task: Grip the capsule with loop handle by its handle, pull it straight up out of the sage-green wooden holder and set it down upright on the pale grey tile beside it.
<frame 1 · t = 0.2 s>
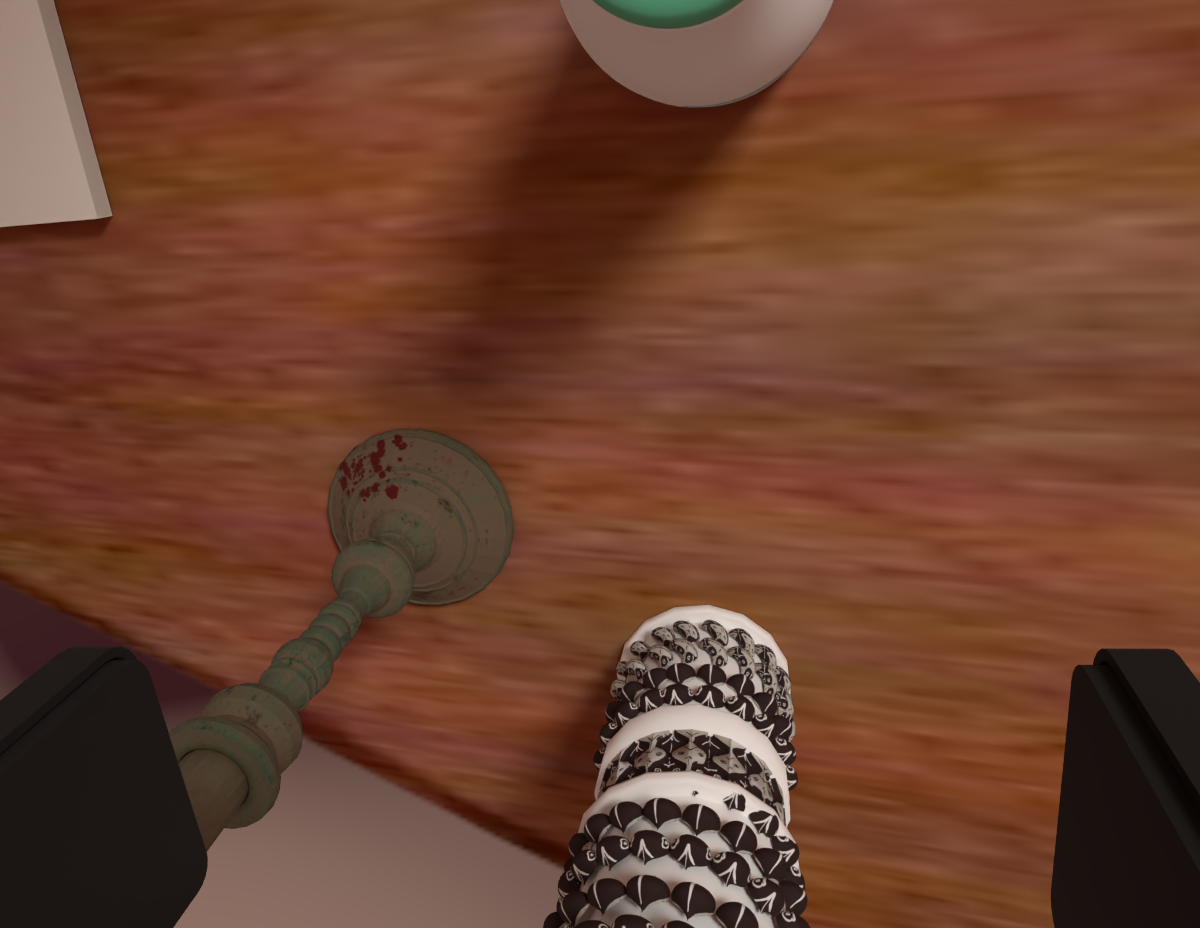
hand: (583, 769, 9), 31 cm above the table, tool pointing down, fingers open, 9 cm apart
candlestick holder: (423, 515, 45), on the table
decorative candle: (704, 677, 45), on the table
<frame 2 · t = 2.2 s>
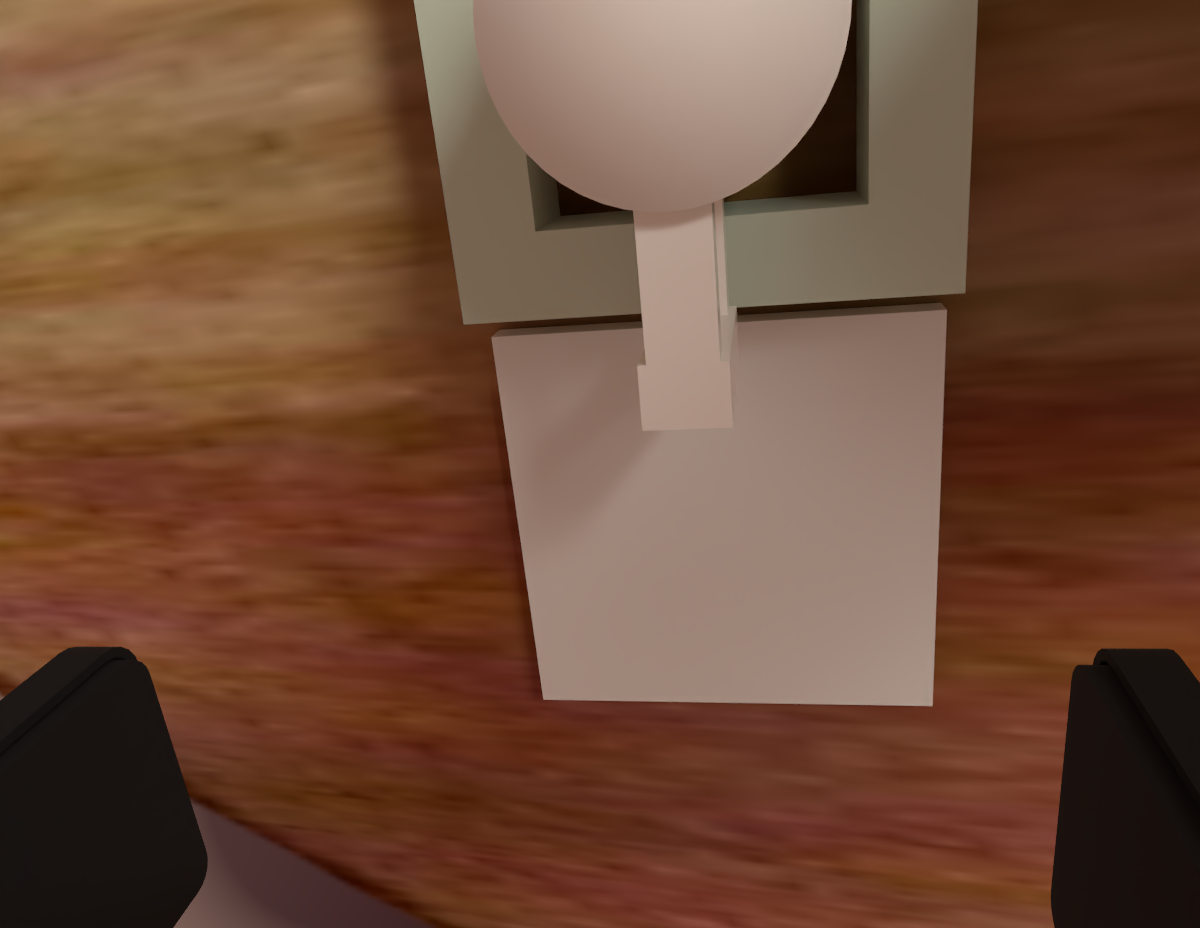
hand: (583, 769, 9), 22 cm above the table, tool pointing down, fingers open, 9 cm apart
tile: (721, 516, 32), on the table
holder: (694, 43, 27), on the table
capsule with loop handle: (684, 110, 22), in the holder
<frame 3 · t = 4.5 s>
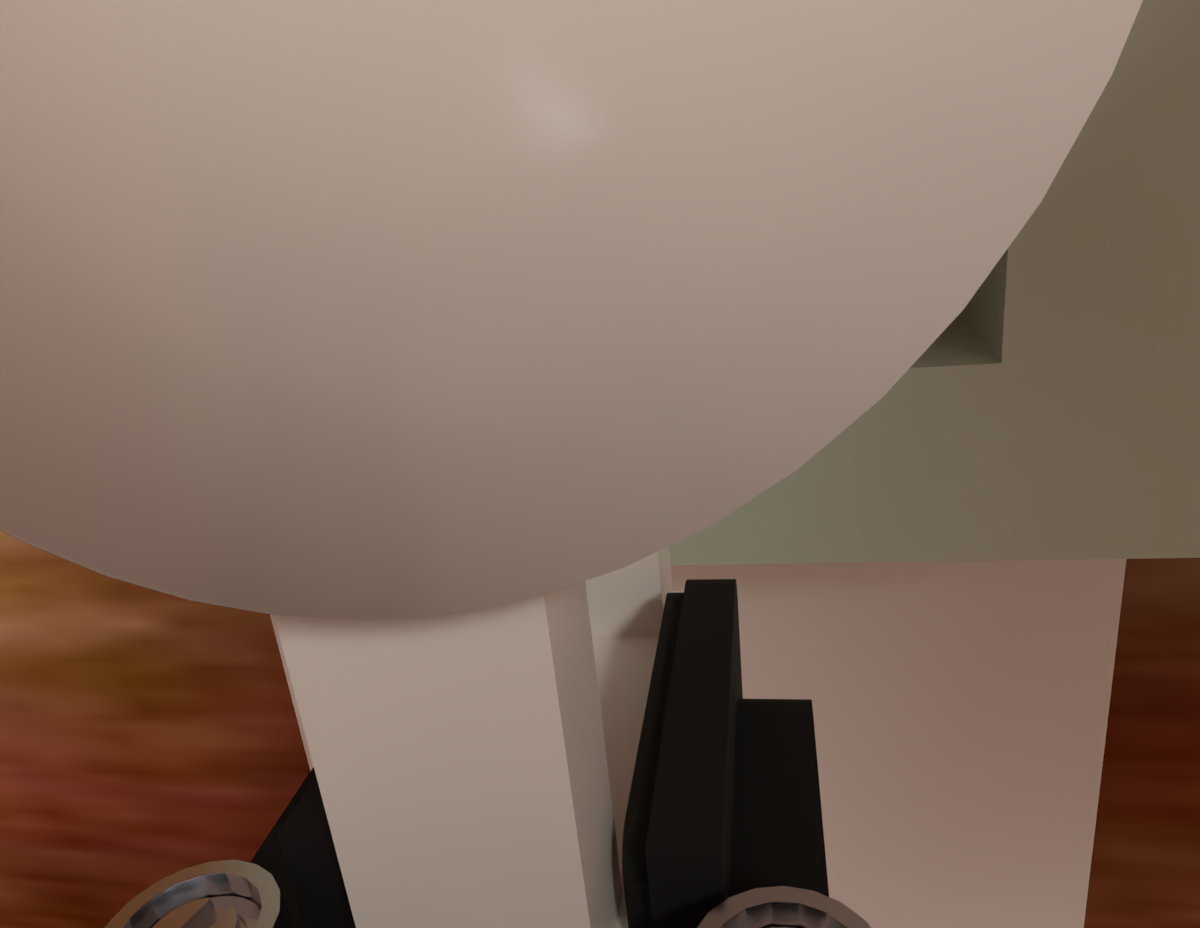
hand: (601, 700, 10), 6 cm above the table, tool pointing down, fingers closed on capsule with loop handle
tile: (686, 843, 18), on the table
holder: (616, 1, 13), on the table
capsule with loop handle: (543, 165, 9), in the holder, touching gripper
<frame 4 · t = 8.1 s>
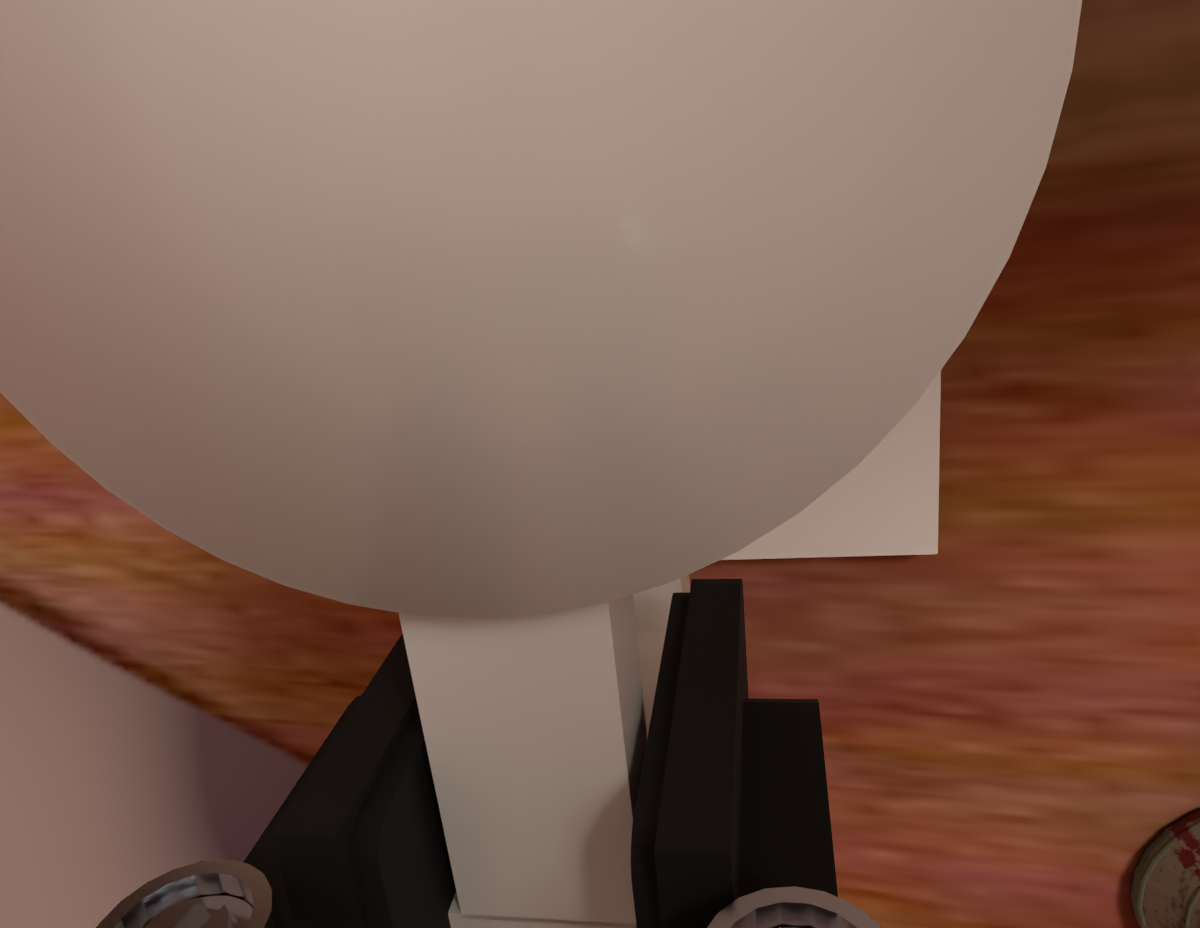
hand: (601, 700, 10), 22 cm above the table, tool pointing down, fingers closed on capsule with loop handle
tile: (714, 358, 31), on the table
capsule with loop handle: (584, 233, 10), point 20 cm above the table, touching gripper
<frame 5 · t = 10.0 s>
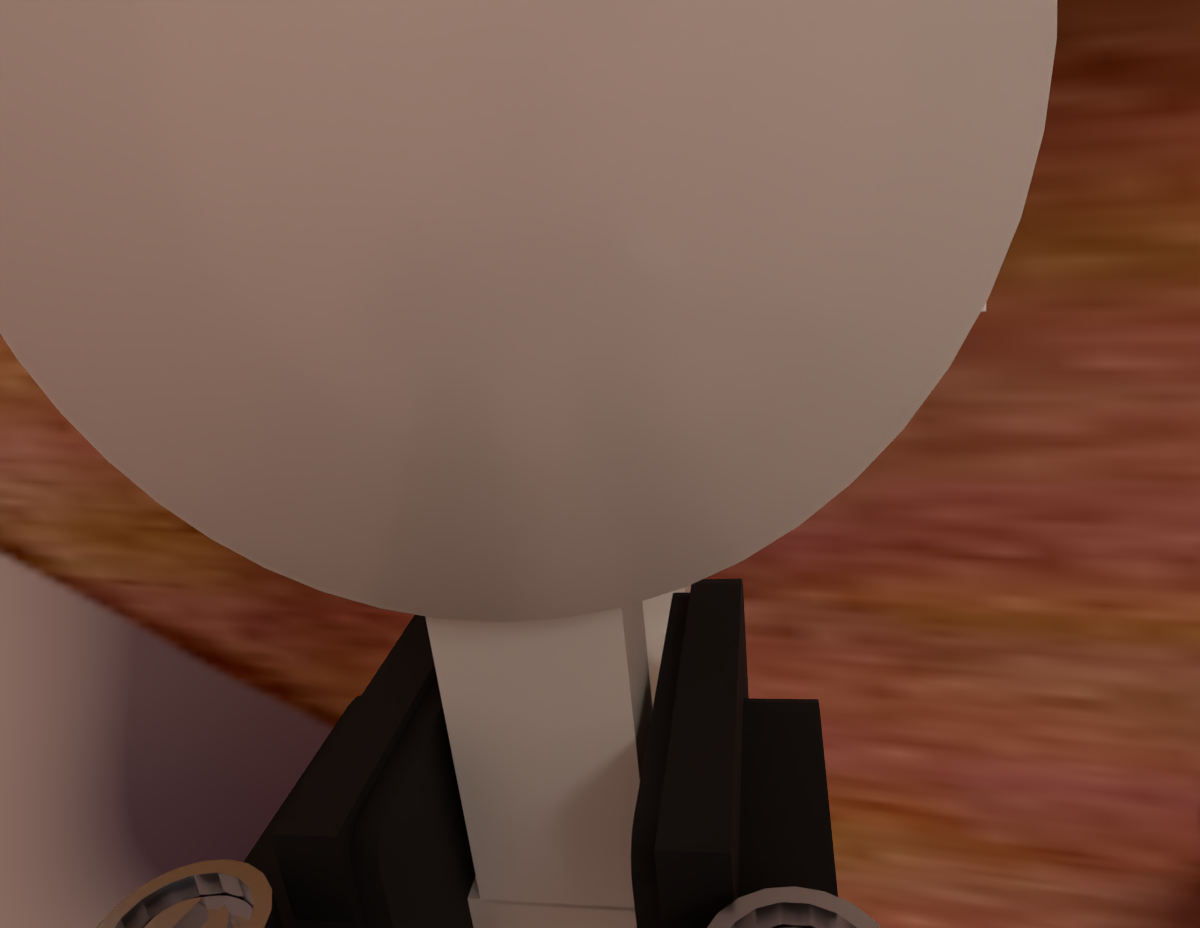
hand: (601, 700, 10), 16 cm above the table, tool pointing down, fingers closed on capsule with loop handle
capsule with loop handle: (593, 253, 11), point 14 cm above the table, touching gripper
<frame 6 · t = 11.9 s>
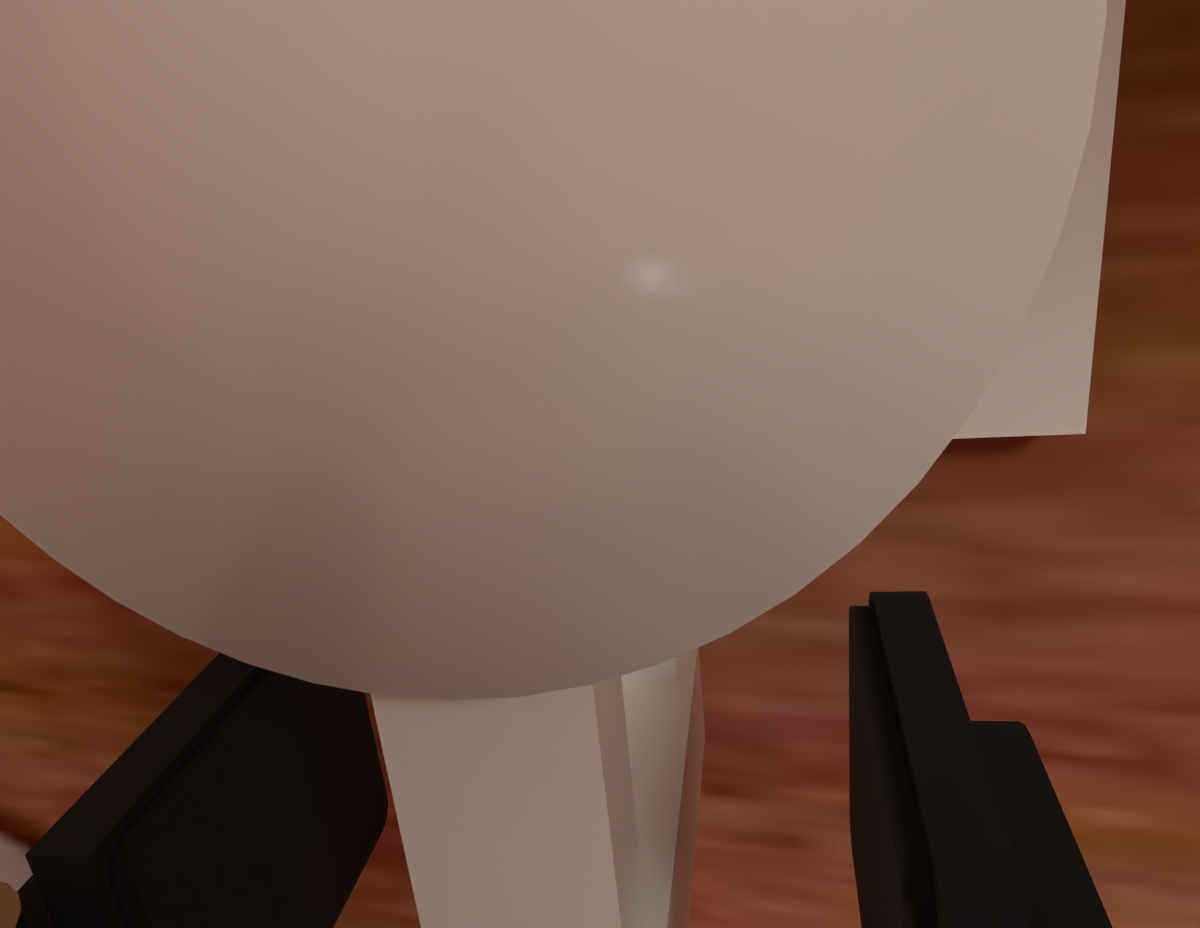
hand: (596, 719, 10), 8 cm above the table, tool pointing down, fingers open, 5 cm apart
tile: (629, 16, 15), on the table
capsule with loop handle: (573, 274, 10), on the tile, point 6 cm above the table
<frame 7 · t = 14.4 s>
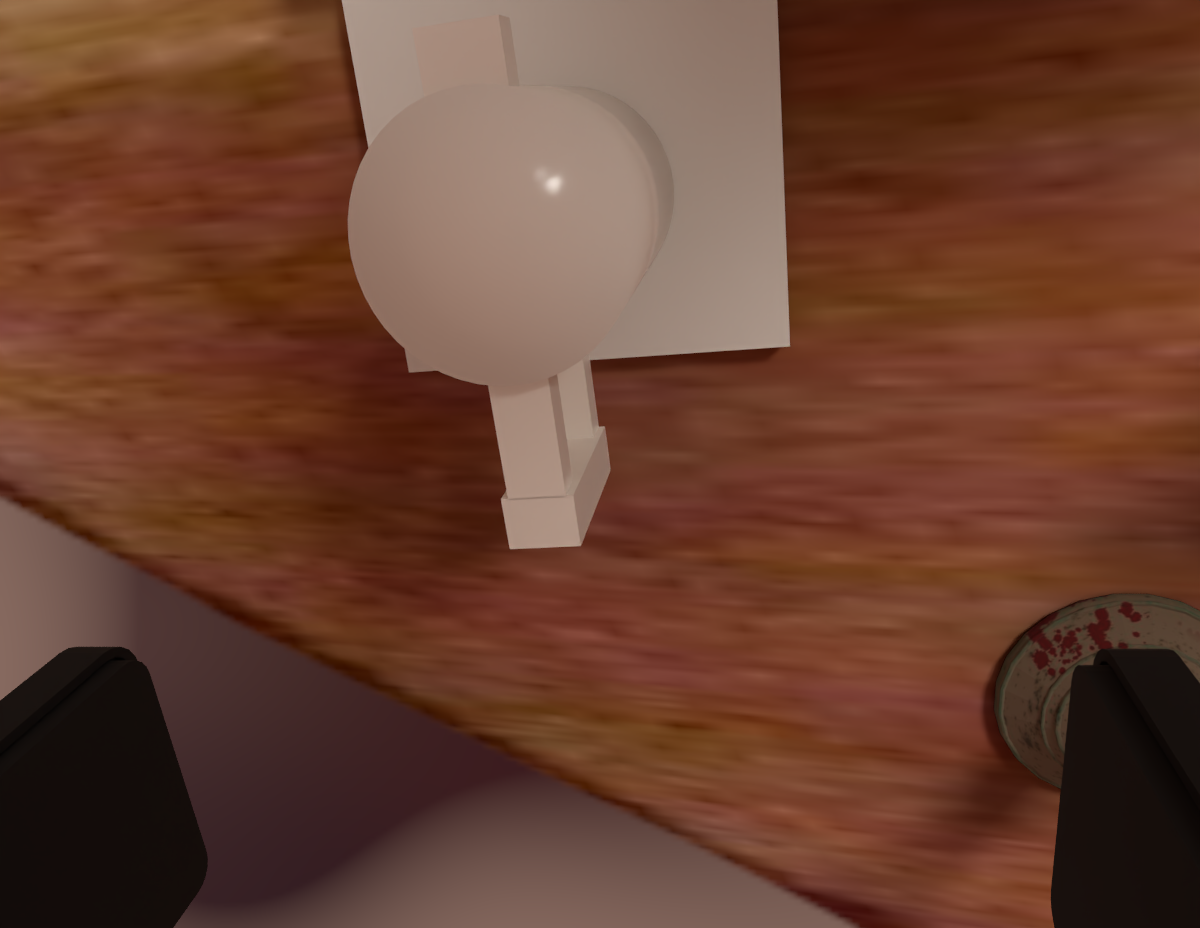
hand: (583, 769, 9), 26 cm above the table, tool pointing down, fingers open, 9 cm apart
candlestick holder: (1113, 691, 36), on the table
tile: (575, 155, 32), on the table
capsule with loop handle: (546, 276, 27), on the tile, point 6 cm above the table
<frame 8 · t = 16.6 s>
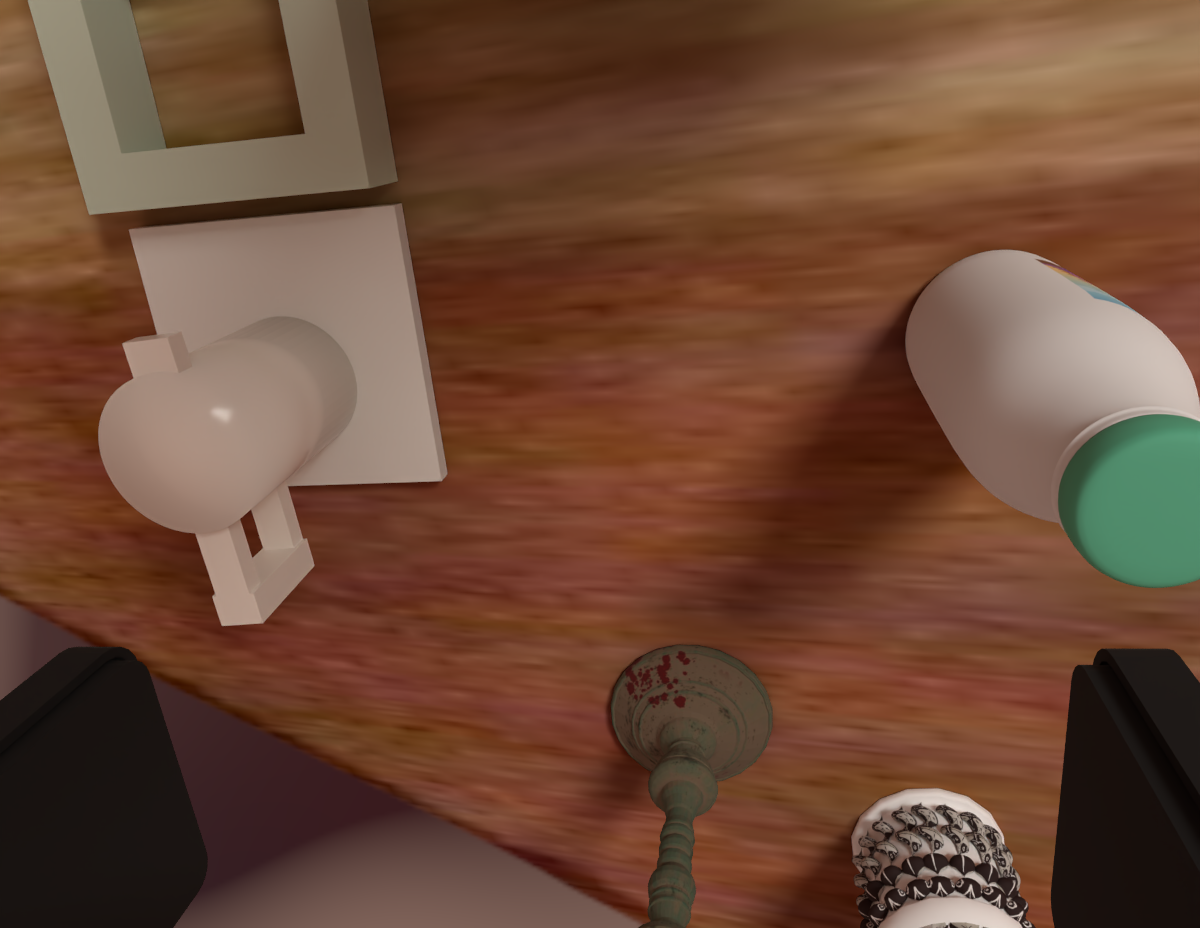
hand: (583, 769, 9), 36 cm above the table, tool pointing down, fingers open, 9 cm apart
milk bottle: (989, 331, 42), on the table
candlestick holder: (691, 710, 53), on the table
tile: (298, 353, 48), on the table
holder: (228, 37, 43), on the table
capsule with loop handle: (252, 450, 43), on the tile, point 6 cm above the table
decorative candle: (926, 843, 53), on the table
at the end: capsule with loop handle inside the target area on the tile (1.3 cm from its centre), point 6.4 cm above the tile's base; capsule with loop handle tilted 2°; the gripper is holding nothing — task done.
